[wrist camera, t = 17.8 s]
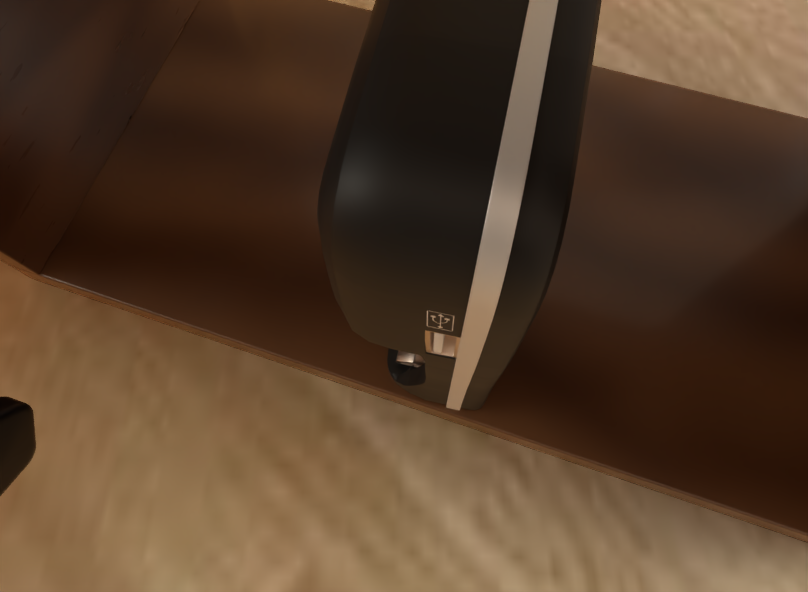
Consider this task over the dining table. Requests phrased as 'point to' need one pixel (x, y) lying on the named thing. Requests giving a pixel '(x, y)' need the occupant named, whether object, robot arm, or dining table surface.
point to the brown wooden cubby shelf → (305, 266)
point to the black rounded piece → (455, 182)
